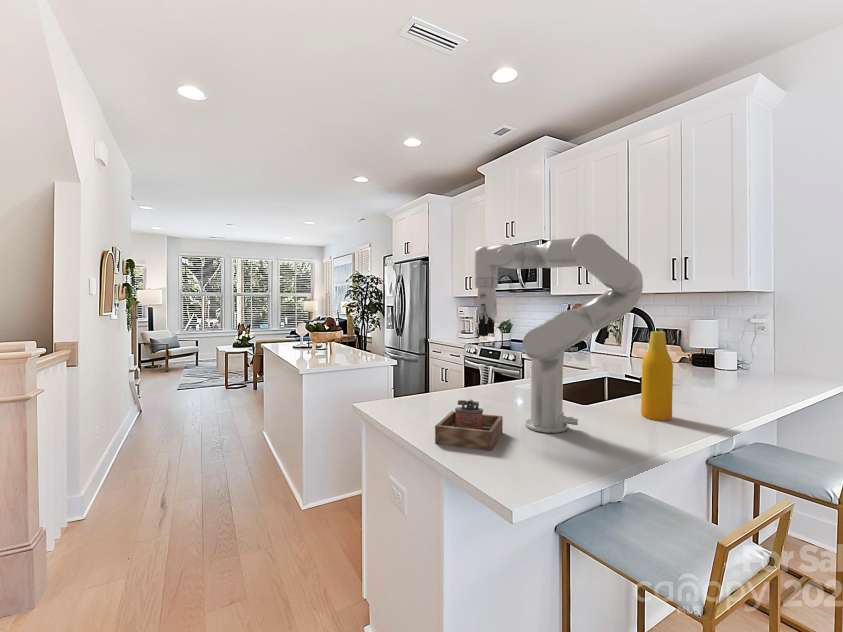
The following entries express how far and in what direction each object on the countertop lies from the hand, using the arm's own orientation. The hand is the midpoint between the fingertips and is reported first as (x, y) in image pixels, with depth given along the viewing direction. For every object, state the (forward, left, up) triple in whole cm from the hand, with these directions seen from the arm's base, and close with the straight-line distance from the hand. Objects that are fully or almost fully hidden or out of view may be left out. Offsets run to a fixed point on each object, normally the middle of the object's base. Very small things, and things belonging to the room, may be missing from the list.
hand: (486, 334), depth 140 cm
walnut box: (0, +22, -28) cm, 36 cm away
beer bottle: (-54, -20, -28) cm, 64 cm away
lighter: (0, +23, -27) cm, 35 cm away
